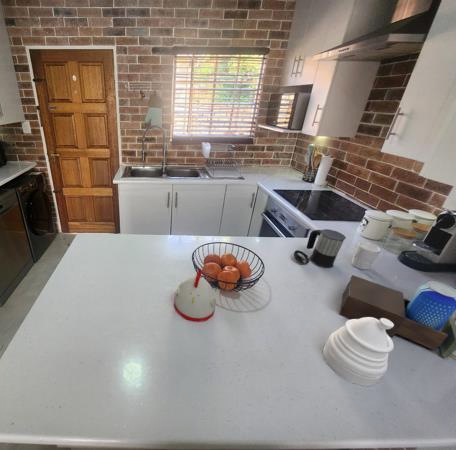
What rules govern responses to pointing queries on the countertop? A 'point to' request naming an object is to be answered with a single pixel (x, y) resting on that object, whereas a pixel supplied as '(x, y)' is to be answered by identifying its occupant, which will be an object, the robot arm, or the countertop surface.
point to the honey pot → (360, 350)
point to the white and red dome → (195, 299)
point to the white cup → (365, 255)
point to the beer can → (432, 305)
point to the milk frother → (322, 248)
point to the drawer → (430, 334)
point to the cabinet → (373, 303)
